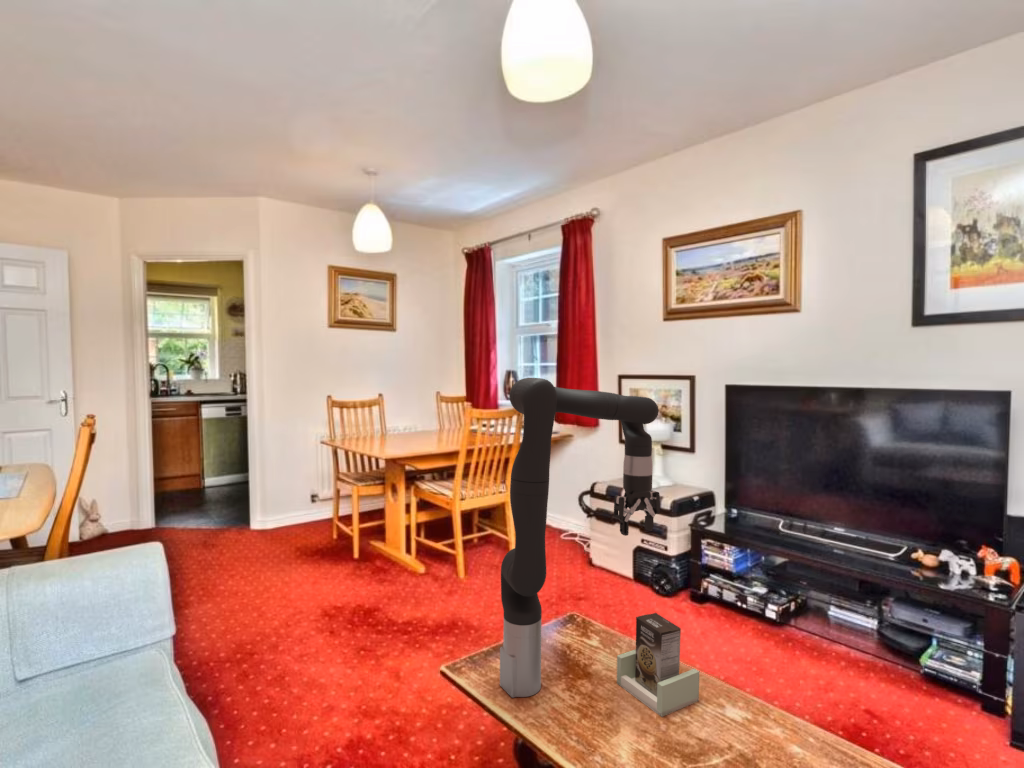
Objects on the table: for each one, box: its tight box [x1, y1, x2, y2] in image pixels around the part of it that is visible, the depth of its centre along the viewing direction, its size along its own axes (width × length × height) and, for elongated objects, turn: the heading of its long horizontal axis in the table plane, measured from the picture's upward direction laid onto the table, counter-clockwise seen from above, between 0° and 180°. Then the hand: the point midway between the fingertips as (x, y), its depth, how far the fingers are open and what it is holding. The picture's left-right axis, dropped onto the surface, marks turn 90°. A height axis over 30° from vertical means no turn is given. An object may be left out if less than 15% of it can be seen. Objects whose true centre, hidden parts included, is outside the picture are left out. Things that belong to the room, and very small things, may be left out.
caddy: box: [616, 648, 700, 718], centre depth 133 cm, size 12×15×7 cm
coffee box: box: [635, 612, 682, 697], centre depth 133 cm, size 9×6×16 cm
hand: (636, 532), depth 147 cm, fingers open, 8 cm apart
